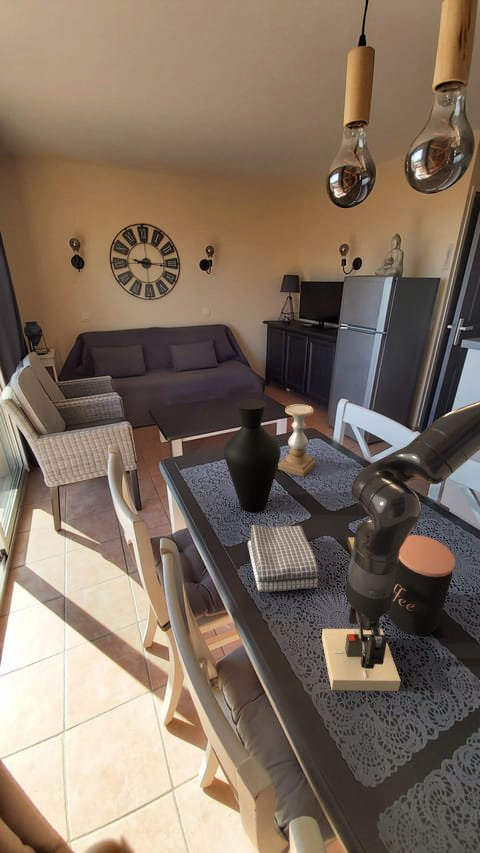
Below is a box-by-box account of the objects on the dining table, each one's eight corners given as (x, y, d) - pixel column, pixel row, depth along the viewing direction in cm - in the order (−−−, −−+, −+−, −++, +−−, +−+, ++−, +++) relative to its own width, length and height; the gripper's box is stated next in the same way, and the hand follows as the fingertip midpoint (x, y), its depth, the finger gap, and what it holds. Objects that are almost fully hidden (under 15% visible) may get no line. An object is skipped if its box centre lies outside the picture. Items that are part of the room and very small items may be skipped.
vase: (240, 528, 107) (235, 419, 93) (219, 497, 121) (212, 400, 107) (289, 512, 113) (293, 408, 99) (264, 485, 128) (264, 391, 113)
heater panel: (380, 638, 74) (382, 628, 73) (398, 691, 65) (400, 680, 64) (321, 638, 75) (322, 628, 74) (331, 690, 66) (332, 679, 64)
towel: (257, 598, 84) (257, 573, 81) (247, 543, 101) (246, 521, 98) (320, 590, 86) (322, 566, 83) (299, 538, 102) (300, 515, 99)
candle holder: (277, 469, 137) (278, 410, 128) (290, 457, 146) (292, 401, 136) (303, 477, 132) (306, 416, 122) (316, 464, 140) (319, 406, 130)
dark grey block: (371, 648, 69) (373, 633, 68) (373, 657, 68) (376, 641, 66) (344, 648, 70) (347, 633, 68) (346, 656, 68) (349, 641, 66)
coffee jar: (377, 595, 84) (388, 534, 77) (424, 595, 84) (439, 534, 76) (394, 638, 74) (408, 573, 67) (447, 639, 74) (467, 574, 67)
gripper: (410, 616, 54) (394, 683, 61) (379, 548, 67) (369, 610, 74) (360, 615, 55) (349, 682, 61) (339, 548, 68) (332, 609, 74)
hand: (360, 642), depth 68 cm, fingers open, 8 cm apart
